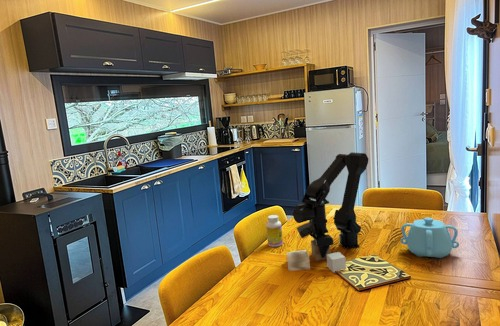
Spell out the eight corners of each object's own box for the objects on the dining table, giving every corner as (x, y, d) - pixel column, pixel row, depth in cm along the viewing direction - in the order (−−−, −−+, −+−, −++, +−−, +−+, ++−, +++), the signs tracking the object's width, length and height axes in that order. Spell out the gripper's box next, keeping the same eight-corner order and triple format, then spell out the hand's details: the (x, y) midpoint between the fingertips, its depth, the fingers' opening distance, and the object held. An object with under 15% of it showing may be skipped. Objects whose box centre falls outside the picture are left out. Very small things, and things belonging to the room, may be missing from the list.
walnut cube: (326, 252, 149) (325, 238, 148) (330, 259, 143) (329, 244, 142) (311, 254, 148) (310, 240, 148) (315, 260, 143) (314, 246, 142)
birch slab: (307, 260, 144) (307, 251, 143) (310, 270, 136) (309, 259, 136) (287, 262, 145) (286, 252, 144) (288, 271, 137) (287, 261, 136)
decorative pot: (432, 241, 150) (432, 209, 148) (464, 256, 134) (463, 220, 132) (397, 248, 146) (396, 216, 144) (425, 265, 131) (424, 228, 129)
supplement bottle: (282, 247, 159) (279, 218, 157) (266, 247, 160) (264, 219, 158) (283, 241, 165) (281, 213, 163) (269, 241, 167) (266, 214, 165)
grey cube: (339, 264, 138) (338, 251, 137) (346, 270, 133) (345, 257, 132) (327, 267, 137) (326, 254, 136) (333, 272, 132) (332, 259, 131)
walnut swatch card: (306, 250, 153) (305, 249, 153) (309, 257, 146) (309, 256, 146) (289, 252, 153) (289, 251, 153) (292, 259, 146) (292, 258, 146)
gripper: (293, 211, 152) (296, 247, 154) (302, 226, 133) (305, 267, 136) (320, 208, 152) (322, 244, 155) (332, 223, 134) (335, 263, 136)
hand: (320, 254), depth 145 cm, fingers closed on walnut cube, 6 cm apart
